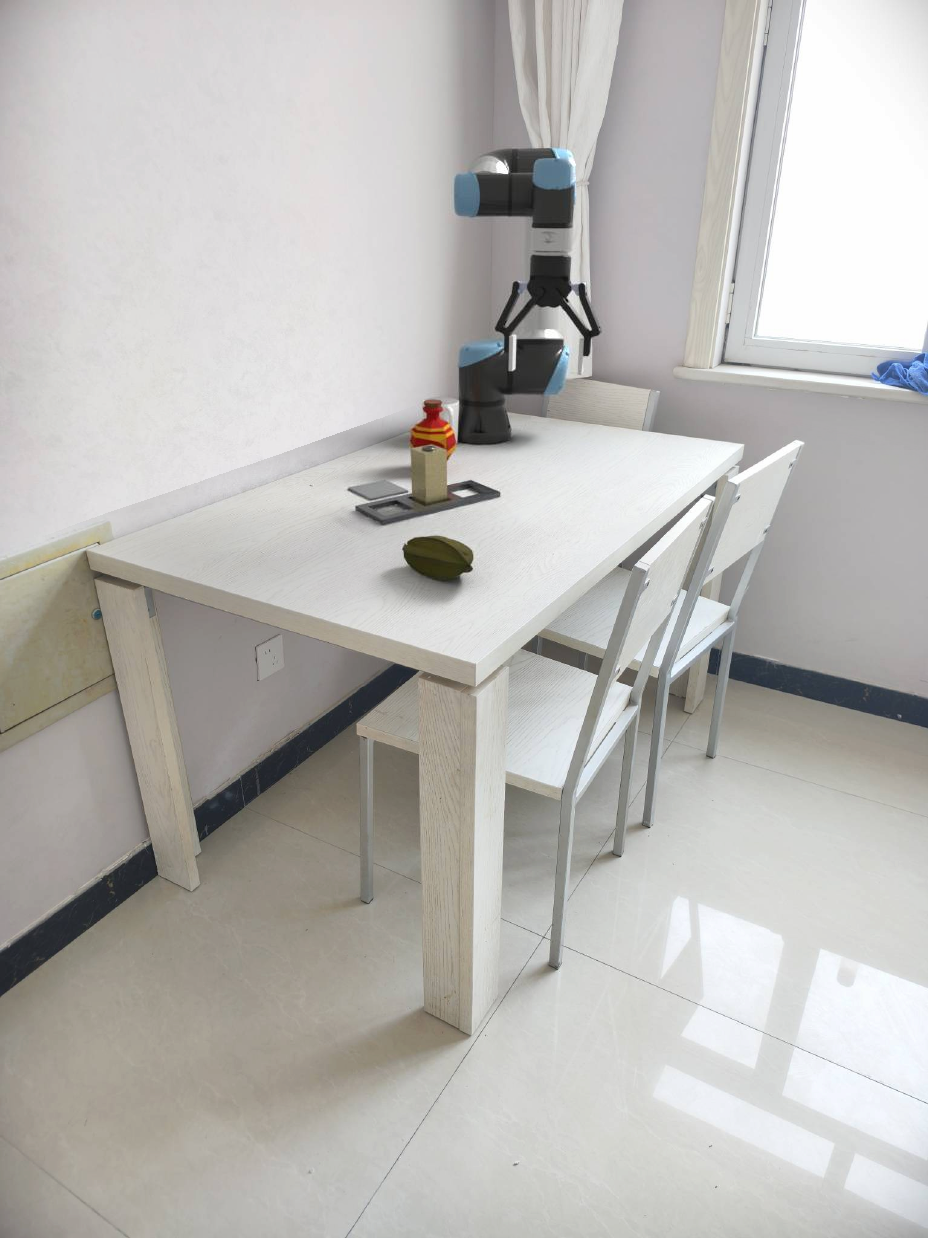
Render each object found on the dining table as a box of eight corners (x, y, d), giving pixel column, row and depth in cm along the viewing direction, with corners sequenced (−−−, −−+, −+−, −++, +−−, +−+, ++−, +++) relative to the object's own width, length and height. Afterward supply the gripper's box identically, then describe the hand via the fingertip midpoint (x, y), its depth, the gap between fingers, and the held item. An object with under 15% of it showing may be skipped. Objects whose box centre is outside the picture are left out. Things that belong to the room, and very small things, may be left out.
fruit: (471, 561, 143) (471, 523, 140) (473, 591, 132) (474, 551, 129) (403, 561, 142) (402, 524, 139) (400, 591, 132) (398, 551, 129)
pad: (348, 489, 177) (348, 487, 177) (385, 481, 182) (385, 479, 181) (370, 500, 170) (370, 498, 170) (408, 492, 175) (408, 490, 175)
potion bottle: (458, 463, 194) (458, 396, 187) (453, 476, 185) (453, 407, 178) (413, 461, 195) (411, 395, 188) (406, 475, 186) (404, 406, 179)
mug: (417, 440, 212) (416, 399, 207) (450, 437, 215) (450, 395, 210) (434, 451, 203) (434, 408, 198) (468, 447, 206) (468, 404, 201)
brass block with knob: (412, 502, 169) (410, 446, 164) (432, 497, 172) (431, 442, 167) (426, 509, 166) (425, 452, 161) (447, 504, 168) (446, 448, 163)
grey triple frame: (355, 510, 165) (355, 505, 164) (470, 484, 180) (470, 479, 179) (382, 525, 158) (382, 519, 157) (500, 496, 173) (500, 491, 172)
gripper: (480, 253, 156) (479, 371, 166) (616, 255, 150) (607, 378, 160) (490, 251, 163) (489, 365, 172) (621, 253, 157) (612, 371, 166)
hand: (545, 371), depth 166 cm, fingers open, 13 cm apart
